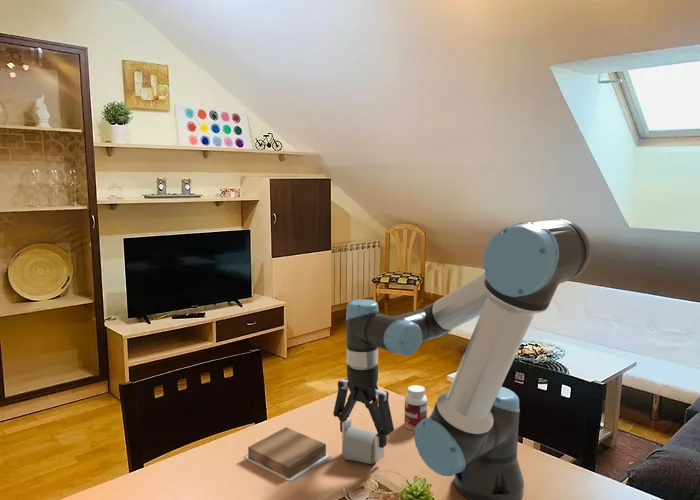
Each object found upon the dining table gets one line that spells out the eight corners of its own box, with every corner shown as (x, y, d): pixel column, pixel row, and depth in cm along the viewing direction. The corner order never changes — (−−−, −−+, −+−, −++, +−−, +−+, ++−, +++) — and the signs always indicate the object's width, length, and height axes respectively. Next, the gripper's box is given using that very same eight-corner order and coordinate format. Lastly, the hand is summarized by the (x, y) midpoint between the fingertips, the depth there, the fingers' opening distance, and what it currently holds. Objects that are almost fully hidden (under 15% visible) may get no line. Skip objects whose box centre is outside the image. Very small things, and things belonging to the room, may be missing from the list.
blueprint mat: (332, 457, 133) (332, 455, 133) (291, 483, 122) (291, 482, 122) (284, 436, 143) (283, 434, 143) (242, 458, 132) (242, 457, 132)
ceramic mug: (373, 470, 127) (374, 440, 125) (341, 464, 129) (341, 434, 128) (385, 449, 136) (385, 420, 135) (355, 444, 139) (355, 416, 138)
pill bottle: (399, 425, 149) (400, 388, 147) (414, 418, 153) (414, 382, 152) (416, 433, 145) (417, 395, 143) (431, 426, 149) (432, 388, 147)
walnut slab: (325, 455, 133) (325, 444, 133) (288, 478, 123) (288, 466, 123) (286, 437, 142) (286, 427, 141) (248, 458, 132) (248, 447, 131)
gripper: (410, 370, 124) (409, 459, 127) (337, 350, 138) (338, 432, 141) (391, 380, 118) (391, 473, 122) (317, 358, 132) (319, 443, 135)
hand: (362, 451), depth 131 cm, fingers closed on ceramic mug, 9 cm apart
